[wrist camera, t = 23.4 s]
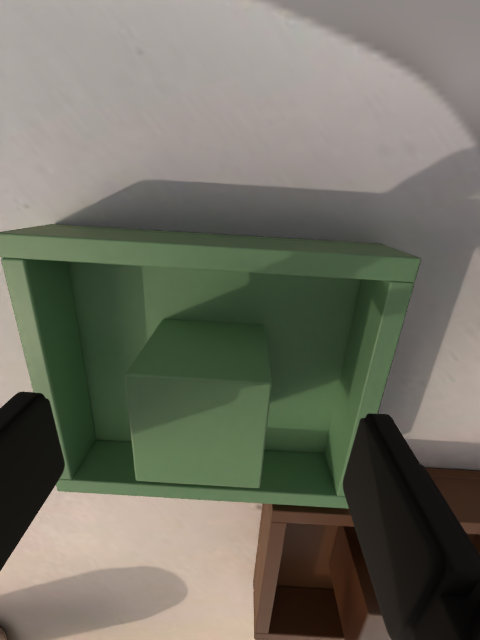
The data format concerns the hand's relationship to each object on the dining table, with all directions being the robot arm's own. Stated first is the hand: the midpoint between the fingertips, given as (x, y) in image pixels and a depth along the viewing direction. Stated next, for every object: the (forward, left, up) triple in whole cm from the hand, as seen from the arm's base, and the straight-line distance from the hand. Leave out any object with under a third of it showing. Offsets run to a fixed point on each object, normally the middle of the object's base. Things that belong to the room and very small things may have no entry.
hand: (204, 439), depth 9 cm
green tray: (0, 0, -6) cm, 6 cm away
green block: (0, 0, -5) cm, 5 cm away
